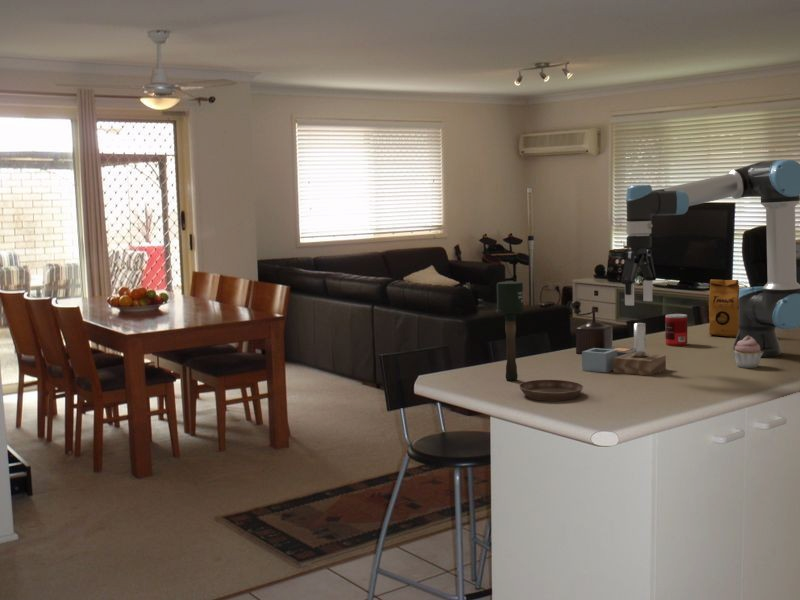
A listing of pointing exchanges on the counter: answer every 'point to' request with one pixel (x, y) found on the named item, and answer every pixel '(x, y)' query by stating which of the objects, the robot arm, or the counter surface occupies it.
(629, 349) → the orange square block
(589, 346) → the manual coffee grinder
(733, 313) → the coffee package
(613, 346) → the housing
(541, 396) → the plant saucer
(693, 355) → the counter surface
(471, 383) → the counter surface
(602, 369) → the blue square collar
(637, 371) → the socket block
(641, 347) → the peg
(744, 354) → the cupcake
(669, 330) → the canned food
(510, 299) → the potato masher grenade
